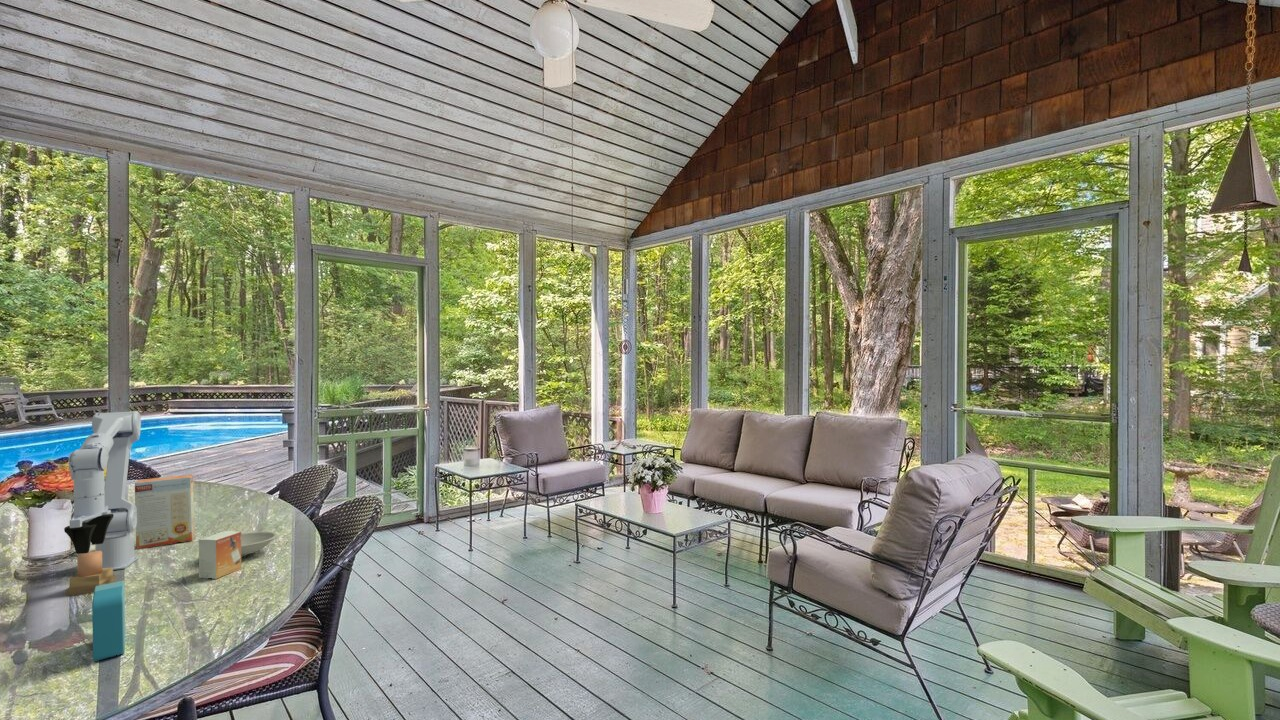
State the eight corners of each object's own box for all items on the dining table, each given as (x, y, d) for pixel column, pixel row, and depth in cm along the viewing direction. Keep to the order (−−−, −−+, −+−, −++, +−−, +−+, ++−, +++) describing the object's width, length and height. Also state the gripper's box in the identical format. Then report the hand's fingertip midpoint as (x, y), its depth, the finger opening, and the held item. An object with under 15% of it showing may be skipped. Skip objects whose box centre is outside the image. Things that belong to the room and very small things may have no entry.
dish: (278, 544, 182) (278, 528, 182) (276, 557, 169) (276, 540, 169) (209, 554, 173) (208, 538, 173) (202, 569, 160) (201, 551, 160)
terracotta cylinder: (82, 571, 149) (82, 552, 149) (105, 568, 150) (105, 549, 150) (74, 577, 144) (73, 558, 144) (97, 574, 146) (97, 555, 146)
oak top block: (84, 579, 150) (84, 569, 150) (112, 576, 152) (112, 567, 152) (69, 587, 144) (69, 578, 144) (99, 584, 146) (99, 575, 146)
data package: (96, 641, 120) (95, 584, 120) (125, 634, 123) (124, 578, 123) (93, 664, 111) (91, 602, 111) (124, 656, 114) (123, 595, 114)
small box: (215, 579, 153) (215, 540, 153) (198, 578, 154) (197, 539, 154) (242, 568, 161) (241, 531, 161) (225, 567, 162) (224, 530, 162)
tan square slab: (80, 588, 150) (80, 579, 150) (115, 584, 152) (115, 575, 152) (66, 598, 143) (66, 589, 143) (102, 594, 146) (102, 584, 146)
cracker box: (195, 536, 190) (193, 473, 190) (192, 541, 185) (191, 476, 185) (139, 544, 183) (138, 478, 183) (135, 549, 178) (134, 482, 178)
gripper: (95, 500, 142) (96, 555, 142) (122, 488, 156) (123, 538, 156) (58, 503, 140) (59, 559, 140) (88, 490, 153) (89, 541, 153)
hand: (90, 548), depth 148 cm, fingers open, 7 cm apart
